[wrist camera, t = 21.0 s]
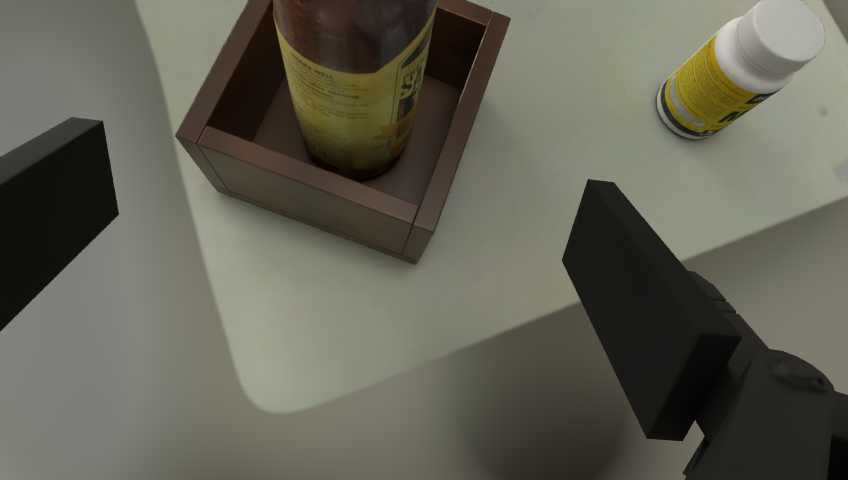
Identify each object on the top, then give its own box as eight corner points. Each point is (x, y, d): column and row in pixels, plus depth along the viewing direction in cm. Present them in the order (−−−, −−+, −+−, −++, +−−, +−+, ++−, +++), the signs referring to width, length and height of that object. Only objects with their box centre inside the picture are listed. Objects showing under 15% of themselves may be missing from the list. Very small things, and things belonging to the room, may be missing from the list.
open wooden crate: (479, 90, 33) (511, 17, 26) (416, 265, 30) (434, 232, 23) (299, 21, 33) (285, -71, 26) (215, 190, 29) (173, 135, 23)
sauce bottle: (413, 182, 30) (514, -160, 11) (301, 185, 29) (195, -182, 10) (406, 79, 31) (482, -378, 12) (299, 79, 31) (205, -413, 12)
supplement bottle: (695, 155, 34) (801, 86, 26) (640, 105, 34) (728, 22, 26) (735, 110, 35) (849, 31, 27) (682, 62, 36) (778, -30, 27)
